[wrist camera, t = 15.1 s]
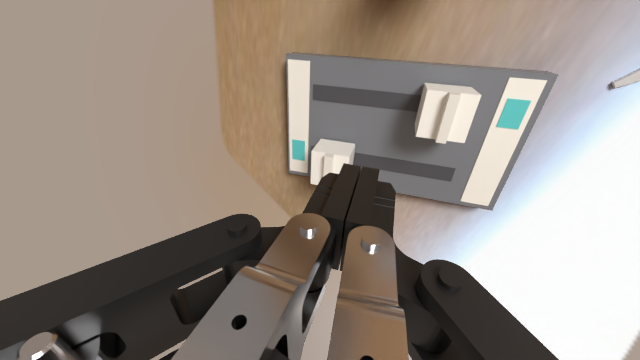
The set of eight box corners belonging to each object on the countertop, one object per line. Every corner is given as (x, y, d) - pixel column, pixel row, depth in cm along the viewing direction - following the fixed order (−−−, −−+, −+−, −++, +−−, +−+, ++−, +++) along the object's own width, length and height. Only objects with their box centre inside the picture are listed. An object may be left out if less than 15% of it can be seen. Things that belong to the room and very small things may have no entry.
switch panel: (293, 52, 28) (285, 53, 26) (547, 71, 23) (559, 74, 21) (294, 166, 35) (288, 173, 33) (487, 200, 30) (492, 211, 28)
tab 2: (424, 82, 24) (428, 91, 20) (471, 86, 23) (484, 97, 19) (414, 124, 26) (416, 139, 22) (457, 129, 25) (466, 146, 21)
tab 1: (321, 138, 29) (309, 153, 26) (355, 143, 28) (348, 160, 25) (319, 169, 31) (308, 187, 28) (351, 174, 31) (344, 194, 27)
